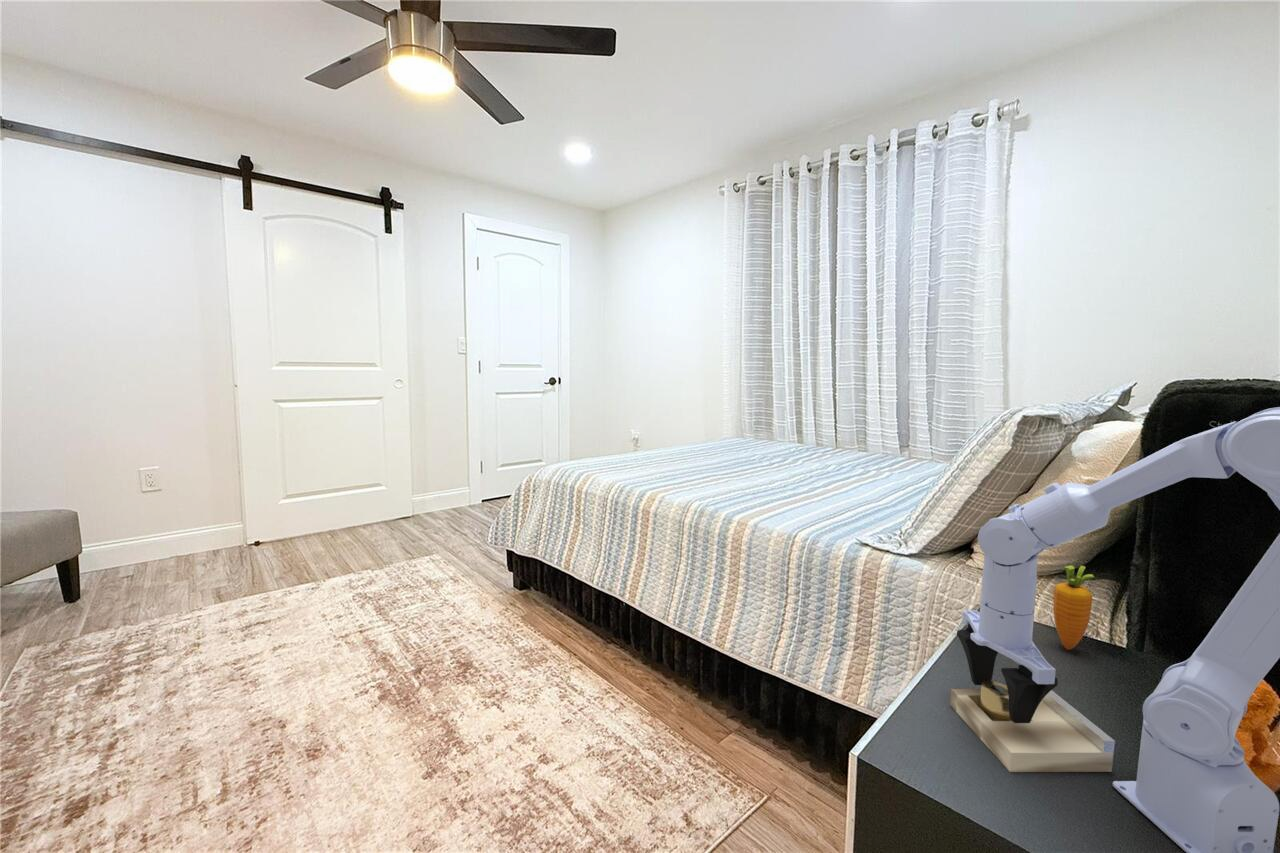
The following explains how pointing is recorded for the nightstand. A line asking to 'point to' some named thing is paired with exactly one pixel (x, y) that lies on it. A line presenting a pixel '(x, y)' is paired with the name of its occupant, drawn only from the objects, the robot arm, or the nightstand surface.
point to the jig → (1039, 736)
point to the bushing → (995, 701)
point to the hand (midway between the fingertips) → (999, 701)
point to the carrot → (1072, 607)
